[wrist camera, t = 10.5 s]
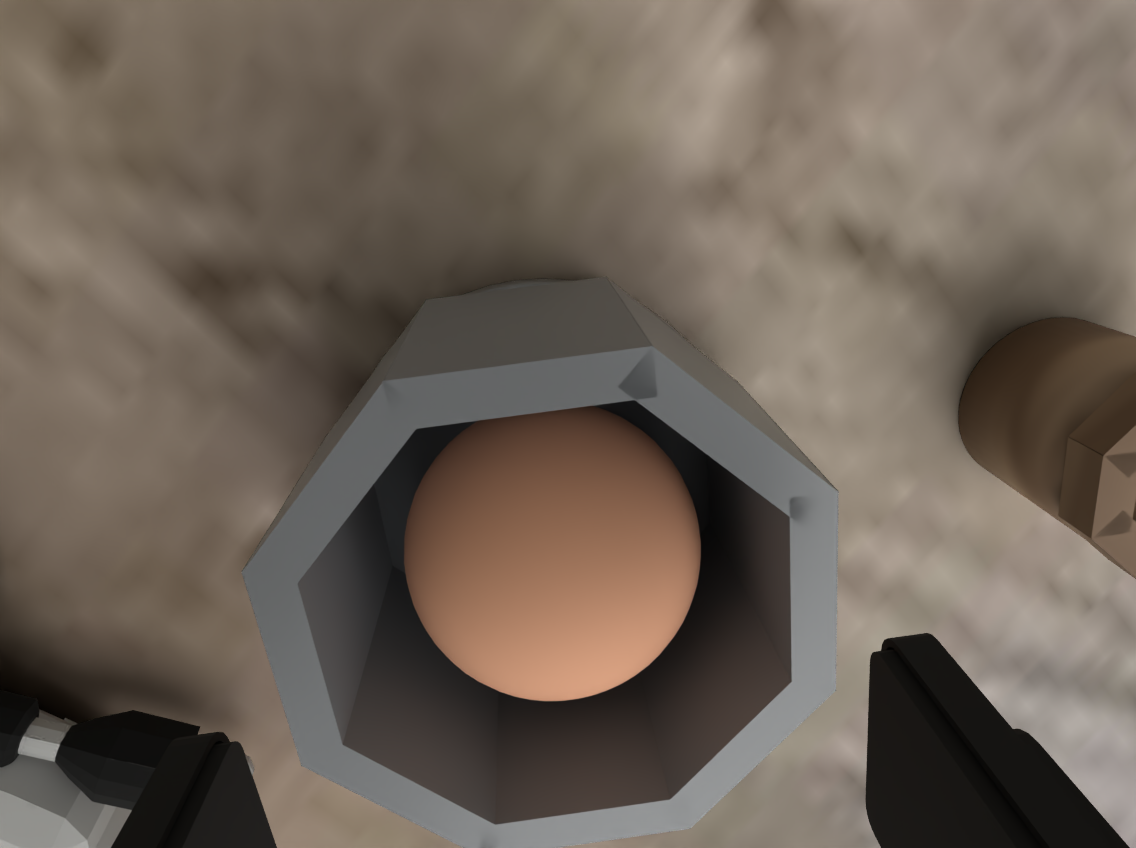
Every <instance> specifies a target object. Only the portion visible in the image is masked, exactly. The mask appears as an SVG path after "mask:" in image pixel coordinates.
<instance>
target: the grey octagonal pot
mask: <svg viewBox="0 0 1136 848" xmlns="http://www.w3.org/2000/svg"><path fill="white" fill-rule="evenodd" d="M586 406H595V407H598V408H601V409H604V410H607V411H609V412H611V413H613V414H615V415H618V416H620V417H622V418H623V419H625V420H627V421H628V422H630V423H631V424H633V425H635V426H636V427H638V428H639V429H641V430H642V431H643V432H644V433H646V434H647V435H648V436H649V437H650V438H652V439H653V440H654V441H655V442H656V443H657V444H658V445H659V447H660V448H661V449H662V450H663V451H664V452H665V453H666V455H667V456H668V457H669V458H670V459H671V460H672V462H673V463H674V465H675V466H676V468H677V469H678V471H679V472H680V474H681V476H682V478H683V480H684V482H685V484H686V487H687V489H688V491H689V493H690V495H691V497H692V500H693V504H694V507H695V510H696V514H697V519H698V524H699V531H700V539H701V560H700V570H699V577H698V583H697V587H696V590H695V593H694V597H693V600H692V603H691V605H690V608H689V610H688V612H687V615H686V617H685V619H684V621H683V623H682V625H681V627H680V628H679V630H678V631H677V633H676V635H675V636H674V637H673V639H672V640H671V641H670V642H669V644H668V645H667V646H666V647H665V649H664V650H663V651H662V652H661V654H660V655H659V656H658V657H657V658H656V659H655V660H654V661H653V662H652V663H650V664H649V665H648V666H647V667H646V668H645V669H643V670H642V671H641V672H639V673H638V674H637V675H635V676H634V677H632V678H630V679H629V680H627V681H625V682H624V683H622V684H620V685H618V686H616V687H614V688H611V689H609V690H607V691H604V692H601V693H598V694H595V695H592V696H588V697H584V698H579V699H573V700H565V701H538V700H529V699H524V698H519V697H514V696H511V695H508V694H505V693H502V692H499V691H497V690H495V689H493V688H491V687H489V686H487V685H484V684H482V683H480V682H478V681H477V680H475V679H474V678H472V677H470V676H469V675H467V674H466V673H464V672H463V671H462V670H461V669H460V668H459V667H457V666H456V665H455V664H454V663H453V662H452V661H451V660H450V659H449V658H448V657H446V655H445V654H444V653H443V652H442V651H441V650H440V649H439V648H438V647H437V645H436V644H435V643H434V641H433V640H432V638H431V637H430V635H429V634H428V632H427V631H426V629H425V628H424V626H423V624H422V622H421V620H420V618H419V616H418V614H417V612H416V610H415V608H414V605H413V602H412V598H411V595H410V592H409V588H408V584H407V580H406V573H405V566H404V536H405V529H406V523H407V518H408V514H409V511H410V508H411V505H412V502H413V498H414V495H415V492H416V490H417V488H418V486H419V484H420V482H421V480H422V478H423V476H424V475H425V473H426V472H427V470H428V469H429V467H430V466H431V464H432V463H433V461H434V460H435V458H436V457H437V456H438V455H439V454H440V452H441V451H442V450H443V449H444V448H445V447H446V446H447V444H448V443H449V442H450V441H452V440H453V439H454V438H455V437H456V436H457V435H459V434H460V433H461V432H462V431H463V430H465V429H466V428H468V427H469V426H471V425H472V424H474V423H475V422H477V421H479V420H487V419H494V418H502V417H510V416H517V415H525V414H532V413H540V412H548V411H555V410H563V409H571V408H578V407H586ZM838 493H839V492H838V490H837V489H836V488H835V487H834V486H833V485H832V484H831V483H830V482H829V481H828V479H827V478H826V477H825V476H824V475H823V474H822V473H821V472H820V471H819V470H818V469H817V467H816V466H815V465H814V464H813V463H812V462H811V461H810V460H809V459H808V458H807V457H806V456H805V454H804V453H803V452H802V451H801V450H800V449H799V448H798V447H797V446H796V445H795V444H794V442H793V441H792V440H791V439H790V438H789V437H788V436H787V435H786V434H785V433H784V432H783V430H782V429H781V428H780V427H779V426H778V425H777V424H776V423H775V422H774V421H773V420H772V419H771V417H770V416H769V415H768V414H767V413H766V412H765V411H764V410H763V409H762V408H761V407H760V405H759V404H758V403H757V402H756V401H755V400H754V399H753V398H752V397H751V396H750V395H749V393H748V392H747V391H746V390H745V389H744V388H743V387H742V386H741V385H740V384H739V383H738V381H736V380H735V379H733V378H732V377H731V376H730V375H728V374H727V373H726V372H725V371H723V370H722V369H721V368H720V367H718V366H717V365H716V364H715V363H713V362H712V361H711V360H710V359H708V358H707V357H706V356H705V355H703V354H702V353H701V352H700V351H698V350H697V349H696V348H695V347H693V346H692V345H691V344H690V343H688V342H687V341H686V340H685V339H684V337H683V336H681V335H680V334H679V333H678V332H677V331H676V330H675V329H674V328H673V327H672V326H671V325H670V324H668V323H667V322H666V321H665V320H664V319H662V318H661V317H659V316H658V315H657V314H655V313H654V312H652V311H651V310H649V309H648V308H646V307H645V306H643V305H641V304H640V303H639V302H637V301H636V300H635V299H634V298H632V297H631V296H630V295H629V294H627V293H626V292H625V291H624V290H622V289H621V288H620V287H619V286H617V285H616V284H615V283H614V282H612V281H611V280H610V279H609V278H607V277H599V278H591V279H583V280H576V281H571V280H559V279H544V278H542V279H526V280H514V281H509V282H504V283H499V284H494V285H489V286H486V287H483V288H480V289H477V290H474V291H471V292H468V293H465V294H463V295H458V296H450V297H442V298H435V299H427V300H425V302H424V304H423V305H422V306H421V308H420V309H419V310H418V312H417V313H416V315H415V316H414V317H413V319H412V320H411V321H410V323H409V324H408V325H407V327H406V328H405V330H404V331H403V332H402V334H401V335H400V336H399V338H398V339H397V341H396V342H395V343H394V344H393V345H392V347H391V348H390V349H389V350H388V351H387V353H386V354H385V355H384V356H383V357H382V359H381V360H380V362H379V364H378V365H377V367H376V368H375V370H374V372H373V373H372V375H371V376H370V377H369V379H368V380H367V381H366V383H365V384H364V386H363V387H362V388H361V390H360V391H359V392H358V394H357V395H356V396H355V398H354V399H353V401H352V402H351V403H350V405H349V406H348V407H347V409H346V410H345V411H344V413H343V414H342V416H341V417H340V418H339V420H338V421H337V422H336V424H335V425H334V426H333V428H332V429H331V431H330V432H329V433H328V434H327V436H326V437H325V439H324V440H323V442H322V444H321V445H320V447H319V448H318V450H317V452H316V453H315V455H314V456H313V458H312V460H311V461H310V463H309V464H308V466H307V468H306V469H305V471H304V472H303V474H302V476H301V477H300V479H299V480H298V482H297V484H296V485H295V487H294V488H293V490H292V492H291V493H290V495H289V496H288V498H287V500H286V501H285V503H284V505H283V506H282V508H281V509H280V511H279V513H278V514H277V516H276V517H275V519H274V521H273V522H272V524H271V525H270V527H269V529H268V530H267V532H266V533H265V535H264V537H263V538H262V540H261V541H260V543H259V545H258V546H257V548H256V549H255V551H254V553H253V554H252V556H251V557H250V559H249V561H248V562H247V564H246V565H245V567H244V569H243V570H242V575H243V578H244V581H245V585H246V588H247V591H248V594H249V597H250V601H251V604H252V607H253V610H254V614H255V617H256V620H257V623H258V627H259V630H260V633H261V636H262V639H263V643H264V646H265V649H266V652H267V656H268V659H269V662H270V665H271V669H272V672H273V675H274V678H275V682H276V685H277V688H278V691H279V694H280V698H281V701H282V704H283V707H284V711H285V714H286V717H287V720H288V724H289V727H290V730H291V733H292V736H293V740H294V743H295V746H296V749H297V753H298V756H299V759H300V762H301V766H303V767H305V768H307V769H309V770H311V771H313V772H315V773H317V774H319V775H321V776H323V777H325V778H327V779H329V780H331V781H333V782H335V783H337V784H339V785H341V786H343V787H345V788H346V789H348V790H350V791H352V792H354V793H356V794H358V795H360V796H362V797H364V798H366V799H368V800H370V801H372V802H374V803H376V804H378V805H380V806H382V807H384V808H386V809H388V810H390V811H392V812H394V813H396V814H398V815H400V816H402V817H404V818H406V819H408V820H409V821H411V822H413V823H415V824H417V825H419V826H421V827H423V828H425V829H427V830H429V831H431V832H433V833H435V834H437V835H439V836H441V837H443V838H445V839H447V840H449V841H451V842H453V843H455V844H457V845H459V846H461V847H463V848H560V847H566V846H573V845H580V844H587V843H594V842H601V841H608V840H615V839H622V838H629V837H636V836H643V835H650V834H657V833H663V832H670V831H677V830H684V829H691V827H692V826H693V825H694V824H696V823H697V822H698V821H699V820H700V819H701V818H702V817H703V816H704V815H705V814H706V813H707V812H708V811H709V810H710V809H711V808H712V807H713V806H715V805H716V804H717V803H718V802H719V801H720V800H721V799H722V798H723V797H724V796H725V795H726V794H727V793H728V792H729V791H730V790H731V789H732V788H733V787H735V786H736V785H737V784H738V783H739V782H740V781H741V780H742V779H743V778H744V777H745V776H746V775H747V774H748V773H749V772H750V771H751V770H752V769H754V768H755V767H756V766H757V765H758V764H759V763H760V762H761V761H762V760H763V759H764V758H765V757H766V756H767V755H768V754H769V753H770V752H771V751H772V750H774V749H775V748H776V747H777V746H778V745H779V744H780V743H781V742H782V741H783V740H784V739H785V738H786V737H787V736H788V735H789V734H790V733H791V732H793V731H794V730H795V729H796V728H797V727H798V726H799V725H800V724H801V723H802V722H803V721H804V720H805V719H806V718H807V717H808V716H809V715H810V714H811V713H813V712H814V711H815V710H816V709H817V708H818V707H819V706H820V705H821V704H822V703H823V702H824V701H825V700H826V699H827V698H828V697H829V696H830V695H832V694H833V693H834V692H835V691H836V638H837V559H838Z"/></svg>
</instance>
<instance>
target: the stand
mask: <svg viewBox="0 0 1136 848" xmlns="http://www.w3.org/2000/svg"><path fill="white" fill-rule="evenodd" d="M959 428H960V434H961V437H962V441H963V443H964V445H965V447H966V449H967V451H968V452H969V454H970V455H971V457H972V458H973V459H974V460H975V461H976V462H977V463H978V464H979V465H981V466H982V467H983V468H985V469H986V470H987V471H989V472H990V473H992V474H993V475H995V476H996V477H997V478H999V479H1000V480H1002V481H1003V482H1005V483H1006V484H1007V485H1009V486H1010V487H1012V488H1013V489H1014V490H1016V491H1017V492H1019V493H1020V494H1022V495H1023V496H1024V497H1026V498H1027V499H1029V500H1030V501H1032V502H1033V503H1034V504H1036V505H1037V506H1039V507H1040V508H1041V509H1043V510H1044V511H1046V512H1047V513H1049V514H1050V515H1051V516H1053V517H1054V518H1056V519H1057V520H1059V521H1060V522H1061V523H1063V524H1064V525H1066V526H1067V527H1069V528H1070V529H1071V530H1073V531H1074V532H1076V533H1077V534H1078V535H1080V536H1081V537H1083V538H1084V539H1086V540H1087V541H1088V542H1089V543H1090V544H1091V545H1092V546H1094V547H1095V548H1096V549H1097V550H1098V551H1099V552H1100V553H1102V554H1103V555H1104V556H1105V557H1106V558H1107V559H1108V560H1110V561H1111V562H1113V563H1114V564H1116V565H1117V566H1118V567H1120V568H1121V569H1123V570H1124V571H1125V572H1127V573H1128V574H1130V575H1131V576H1132V577H1134V578H1135V579H1136V337H1134V336H1131V335H1128V334H1125V333H1122V332H1119V331H1116V330H1113V329H1109V328H1106V327H1103V326H1100V325H1097V324H1094V323H1091V322H1088V321H1085V320H1080V319H1076V318H1065V317H1060V318H1049V319H1044V320H1040V321H1037V322H1033V323H1030V324H1028V325H1025V326H1023V327H1021V328H1019V329H1017V330H1015V331H1014V332H1012V333H1010V334H1008V335H1007V336H1006V337H1004V338H1003V339H1002V340H1000V341H999V342H998V343H996V344H995V345H994V346H993V347H992V348H991V349H990V350H989V351H988V352H987V353H986V354H985V355H984V356H983V358H982V359H981V360H980V361H979V363H978V364H977V365H976V367H975V368H974V370H973V371H972V373H971V375H970V377H969V379H968V381H967V383H966V385H965V388H964V390H963V393H962V397H961V401H960V407H959Z"/></svg>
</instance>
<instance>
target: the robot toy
mask: <svg viewBox="0 0 1136 848" xmlns="http://www.w3.org/2000/svg"><path fill="white" fill-rule="evenodd" d="M199 729H200V727H199V726H195V725H191V724H187V723H183V722H179V721H175V720H171V719H167V718H163V717H159V716H155V715H150V714H146V713H142V712H138V711H134V710H132V711H128V712H123V713H119V714H114V715H110V716H105V717H101V718H97V719H93V720H90V721H86V722H83V723H79V724H77V723H75V722H73V721H71V720H69V719H67V718H65V719H64V720H62V719H60V718H58V717H56V716H53V715H51V714H49V713H46V712H44V711H42V710H40V709H39V705H38V701H37V699H36V698H31V697H27V696H23V695H19V694H15V693H11V692H6V691H2V690H0V848H111V846H112V845H113V843H114V841H115V839H116V837H117V836H118V834H119V832H120V830H121V829H122V827H123V825H124V823H125V822H126V820H127V818H128V816H129V815H130V813H131V811H132V809H133V807H134V806H135V804H136V802H137V800H138V799H139V797H140V795H141V793H142V792H143V790H144V788H145V786H146V784H147V783H148V781H149V779H150V777H151V776H152V774H153V772H154V770H155V769H156V767H157V765H158V763H159V761H160V760H161V758H162V756H163V754H164V753H165V751H166V749H167V747H168V746H169V745H170V743H171V742H172V741H173V740H174V739H176V738H179V737H186V736H193V735H198V732H199ZM245 756H246V759H247V762H248V765H249V768H250V771H251V773H252V775H253V772H254V766H253V763H252V761H251V758H250V757H249V756H247V755H245Z"/></svg>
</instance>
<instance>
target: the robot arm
mask: <svg viewBox="0 0 1136 848" xmlns="http://www.w3.org/2000/svg"><path fill="white" fill-rule="evenodd" d="M866 809H867V815H868V819H869V822H870V825H871V828H872V830H873V832H874V835H875V837H876V838H877V840H878V842H879V844H880V846H881V848H1129V846H1128V845H1127V844H1126V843H1125V842H1124V841H1123V840H1122V838H1121V837H1120V836H1119V835H1118V834H1117V833H1116V831H1115V830H1114V829H1113V828H1112V827H1111V826H1110V825H1109V823H1108V822H1107V821H1106V820H1105V819H1104V818H1103V816H1102V815H1101V814H1100V813H1099V812H1098V811H1097V810H1096V808H1095V807H1094V806H1093V805H1092V804H1091V803H1090V802H1089V800H1088V799H1087V798H1086V797H1085V796H1084V795H1083V793H1082V792H1081V791H1080V790H1079V789H1078V788H1077V787H1076V785H1075V784H1074V783H1073V782H1072V781H1071V780H1070V778H1069V777H1068V776H1067V775H1066V774H1065V773H1064V772H1063V770H1062V769H1061V768H1060V767H1059V766H1058V765H1057V763H1056V762H1055V761H1054V760H1053V759H1052V758H1051V757H1050V755H1049V754H1048V753H1047V752H1046V751H1045V750H1044V748H1043V747H1042V746H1041V745H1040V744H1039V743H1038V742H1037V741H1036V740H1035V739H1034V738H1033V737H1032V736H1031V735H1030V734H1029V733H1027V732H1025V731H1023V730H1021V729H1012V728H1011V726H1010V725H1009V724H1008V723H1007V722H1006V721H1005V719H1004V718H1003V717H1002V716H1001V715H1000V713H999V712H998V711H997V710H996V709H995V708H994V706H993V705H992V704H991V703H990V702H989V700H988V699H987V698H986V697H985V696H984V694H983V693H982V692H981V691H980V690H979V689H978V687H977V686H976V685H975V684H974V683H973V681H972V680H971V679H970V678H969V677H968V676H967V674H966V673H965V672H964V671H963V670H962V668H961V667H960V666H959V665H958V664H957V662H956V661H955V660H954V659H953V658H952V657H951V655H950V654H949V653H948V652H947V651H946V649H945V648H944V647H943V646H942V645H941V644H940V642H939V641H938V640H937V639H936V638H935V637H934V636H933V635H931V634H928V633H924V634H917V635H910V636H902V637H895V638H888V639H886V640H884V642H883V644H882V649H881V651H878V652H873V653H872V655H871V658H870V680H869V712H868V743H867V774H866ZM111 848H277V847H276V844H275V841H274V838H273V835H272V832H271V829H270V826H269V823H268V820H267V817H266V814H265V812H264V809H263V806H262V803H261V800H260V797H259V794H258V791H257V788H256V785H255V782H254V779H253V776H252V773H251V771H250V768H249V765H248V762H247V759H246V756H245V753H244V750H243V748H242V746H241V744H240V743H239V742H235V741H234V742H230V741H229V739H228V737H227V736H226V735H225V734H224V733H223V732H215V733H207V734H200V735H193V736H186V737H179V738H176V739H174V740H173V741H172V742H171V743H170V745H169V746H168V747H167V749H166V751H165V753H164V754H163V756H162V758H161V760H160V761H159V763H158V765H157V767H156V769H155V770H154V772H153V774H152V776H151V777H150V779H149V781H148V783H147V784H146V786H145V788H144V790H143V792H142V793H141V795H140V797H139V799H138V800H137V802H136V804H135V806H134V807H133V809H132V811H131V813H130V815H129V816H128V818H127V820H126V822H125V823H124V825H123V827H122V829H121V830H120V832H119V834H118V836H117V837H116V839H115V841H114V843H113V845H112V846H111Z"/></svg>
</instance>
